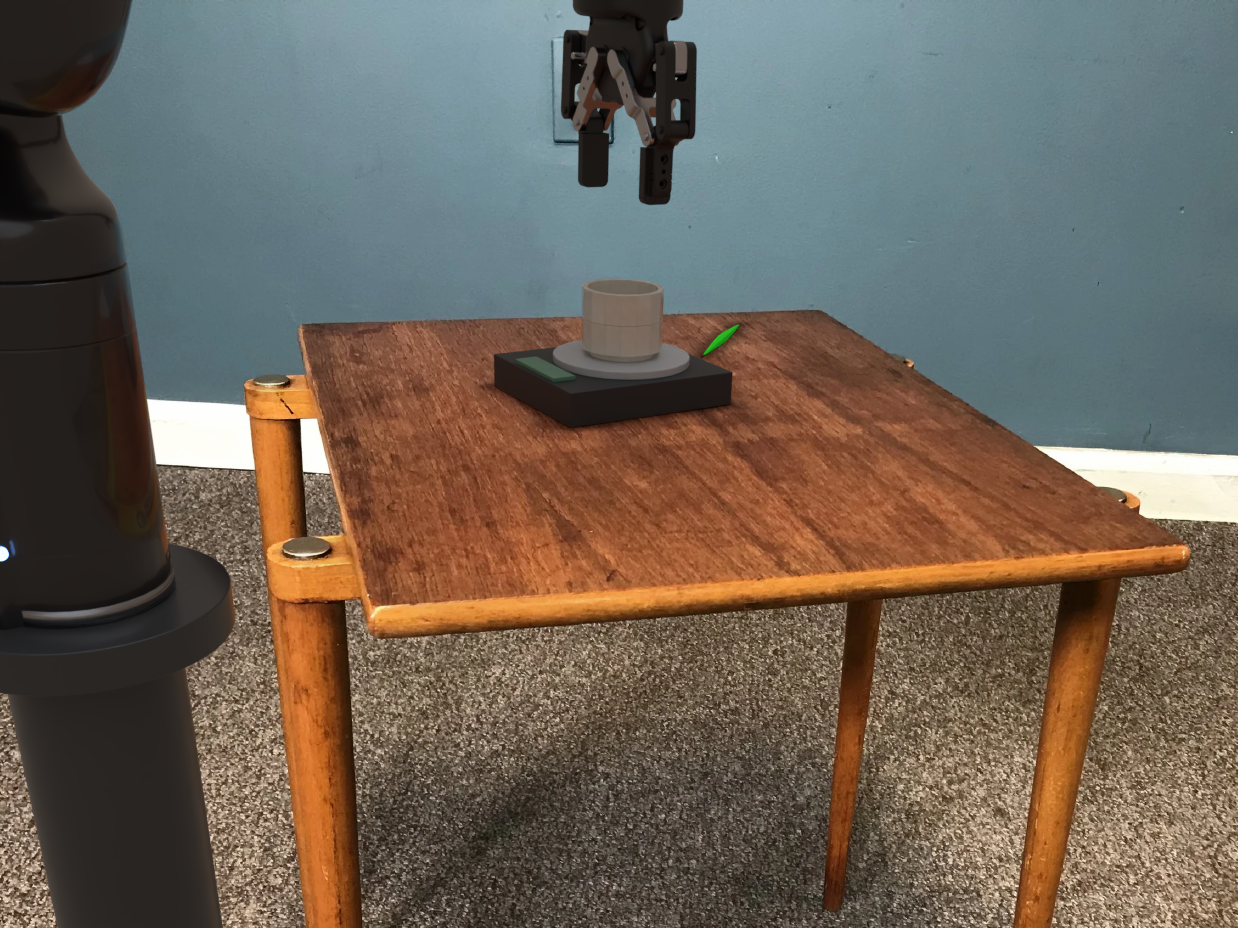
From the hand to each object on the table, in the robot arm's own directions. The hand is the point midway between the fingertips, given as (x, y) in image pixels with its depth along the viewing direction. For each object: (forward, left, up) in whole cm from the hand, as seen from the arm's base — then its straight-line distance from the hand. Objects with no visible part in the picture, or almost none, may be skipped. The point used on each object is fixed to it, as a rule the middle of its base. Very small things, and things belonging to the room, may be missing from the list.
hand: (622, 195), depth 98 cm
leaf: (+17, +11, -15) cm, 25 cm away
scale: (-1, 0, -15) cm, 15 cm away
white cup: (0, 0, -12) cm, 12 cm away
